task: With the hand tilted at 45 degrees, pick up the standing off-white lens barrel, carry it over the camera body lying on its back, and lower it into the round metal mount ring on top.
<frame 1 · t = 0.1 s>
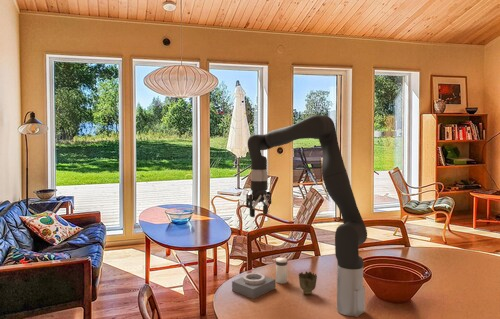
hand: (259, 215, 169), 29 cm above the table, tool pointing down, fingers open, 8 cm apart
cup: (307, 294, 155), on the table
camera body: (253, 289, 159), on the table
lens: (281, 281, 168), on the table
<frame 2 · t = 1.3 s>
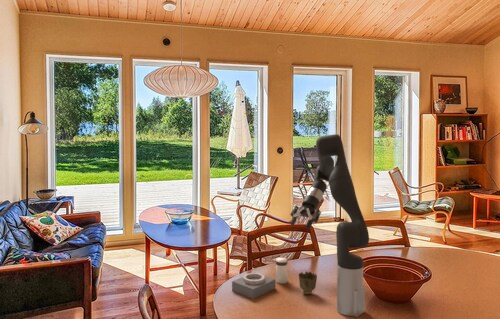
hand: (299, 226, 176), 22 cm above the table, tool tilted 45°, fingers open, 8 cm apart
nothing on the table moved.
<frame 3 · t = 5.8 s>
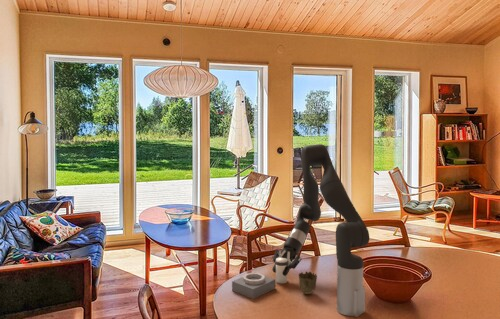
hand: (278, 273, 167), 4 cm above the table, tool tilted 45°, fingers closed on lens, 5 cm apart
lens: (281, 281, 168), on the table, touching gripper
everything else where it was.
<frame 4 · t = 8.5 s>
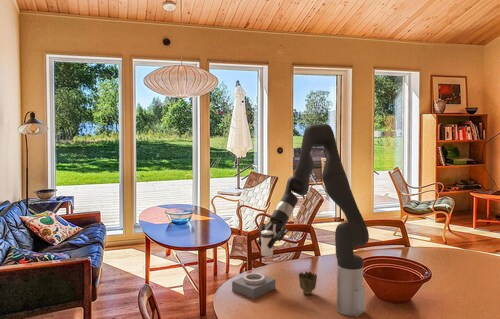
hand: (264, 246, 161), 18 cm above the table, tool tilted 45°, fingers closed on lens, 5 cm apart
lens: (267, 254, 163), point 14 cm above the table, touching gripper
everything else where it was.
when the fingers open (9 cm above the table, at t = 11.5 s): lens stays where it is, resting on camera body.
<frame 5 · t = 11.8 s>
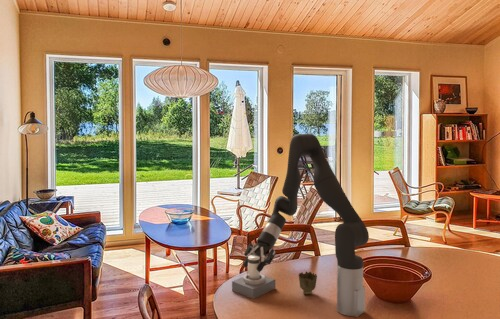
hand: (251, 268, 158), 9 cm above the table, tool tilted 45°, fingers open, 7 cm apart
lens: (253, 280, 159), point 4 cm above the table, touching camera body
everything else where it was.
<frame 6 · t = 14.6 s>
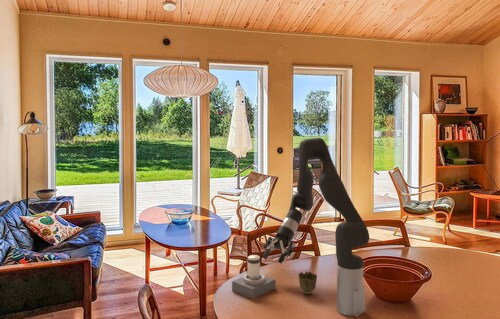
hand: (271, 260, 167), 10 cm above the table, tool tilted 45°, fingers open, 8 cm apart
nothing on the table moved.
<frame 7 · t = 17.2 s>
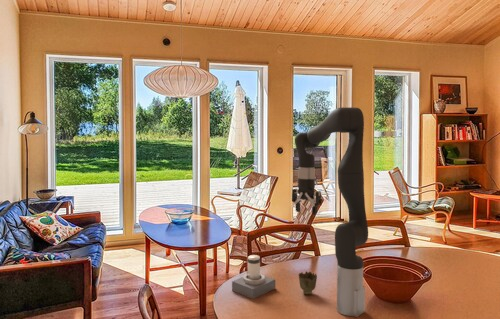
hand: (306, 213, 169), 30 cm above the table, tool pointing down, fingers open, 8 cm apart
nothing on the table moved.
at the end: lens 0.1 cm off-centre on the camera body, point 4.0 cm above the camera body's base; lens tilted 0°; the gripper is holding nothing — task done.
